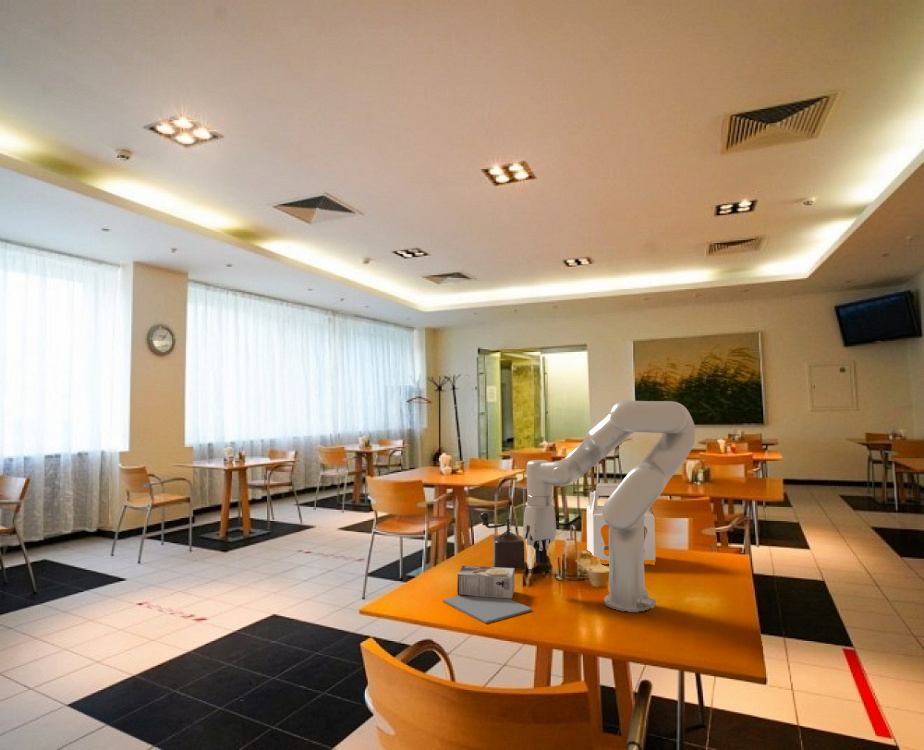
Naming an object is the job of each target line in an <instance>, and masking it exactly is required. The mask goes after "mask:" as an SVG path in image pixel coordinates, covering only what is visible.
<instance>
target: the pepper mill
mask: <svg viewBox="0 0 924 750" xmlns="http://www.w3.org/2000/svg"><path fill="white" fill-rule="evenodd" d="M478 518H479V519H480V521H481V522H482V526H484V527H486V528H488V529H497V528H502V527H505V526H506V530H505V531H504V532H503V533H501V534H499V535H493V538H492V539H493V545H492V546H493V555H492V556H493V559H492V564H494V565H493V567H500V568H522V569H521V570H525V542H524V540H523V539H524V538H522V535H517V534H515V533H513V532H511V530H510V524H511V522H510V520H511V519H510V517H507V518H505V519H506V522H505V523H501V524H495V525H490V523H491V522H490V521H489V518H490V514H489V512H487V511H482V512H481V513H479V515H478Z"/></svg>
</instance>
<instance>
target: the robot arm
mask: <svg viewBox="0 0 924 750" xmlns="http://www.w3.org/2000/svg"><path fill="white" fill-rule="evenodd" d="M633 433H650V434H651V433H652V434H653V433H654V434H656V433H657V434H661V437H660V438H659V440H658V441H657V442H656V443H655V445H654V446H653V447H652V449H650V451H649V452H648V454H646V456H645V457H644V459H643V460H642V461H640V462H639V464H637V465H635V466H633V468H632V469H631V470H629V471H628V473H627V474H626V476H625V477H624V478H623V479H622V481H621V482H619V483H620V484H619V486H618V487H617V488H616V489H615V491H614V492H613V493H612V494H611V496H609V497H608V498H607V499H606V501H605V502H604V504H603V506H604V507H603V517H604V520H605V522H606V523H607V525H606V526H608V546H609V565H608V568H609V569H608V571H609V572H608V579H609V584H608V586H609V594H608V595H606V596H604V597H603V598H604V599H603V603H604V605H605V606H607V607H608V608H610V609H613V610H615V609H616V611H619V610H620V611H619V612H624V611H628V612H627V613H640V612H639V611H643V612H645V611H644V610H647V609H649V608H650V609H654V608H655V605H656V603H657V600H656V598H653V597H650V596H649V591H648V590H646V586H645V581H646V580H645V565H644V514H645V513H646V511H647V510H648V509H649V508H650V507H651V508H652V506H653V504H654V503H655V502H656V500H657V499H658V498H659V497H660V496H661V494H662V493H663V492H664V490H665V488H666V486H667V484H668V483H669V481H670V480H671V478H672V477H673V476H674V475H675V474H676V472H677V471H678V469H679V468H680V467H681V466H682V465H683V463H684V462H685V460H686V459H687V457H688V456H689V455H690V453H691V451H692V449H693V447H694V444H695V440H696V426H695V422H694V420H693V417H692V416H691V413H690V411H689V410H688V409H687V408H686V406H684V405H683V404H682V403H679V402H677V401H669V400H668V401H667V400H663V401H662V400H659V401H658V400H657V401H655V400H653V401H652V400H649V401H648V400H647V401H646V400H627V399H625V400H620V401H618V402H617V403H615V404H614V405H613V406H612V408H611V409H610V412H609V413H608V414H607V415H606V416H604V418H602V419H601V420H600V421H598V423H596V424H595V425H594V426H593V427H592V428H591V429H590V430H588V431H587V432H586V435H585V437H584V439H583V441H582V442H581V443H580V444H579V445H578V446H577V447H575V449H574V450H573V451H571V452H570V453H569V454H568V455H567V456H565V457H564V458H563V459H559V460H555V461H549V460H546V459H532V460H529V461H528V462H527V463H526V498H527V500H526V506H525V508H524V512H523V526H522V527H523V529H522V534H523V535H522V536H523V539H525V540H526V545H528V546H531V547H532V548H533V550H534V551H535V562H536V563H538V564H540V565H545V564H547V563H548V553H547V551H548V550H549V545H550V544H551V543H552V542H554V541H555V537H556V535H557V522H556V513H555V508H554V505H553V500H554V496H553V486H555V487H566V486H569V485H571V484H572V483H574V482H576V481H578V480H579V479H580V478H581V477H583V476H584V475H585V474H586V473H587V472H589V471H590V470H591V469H592V468H593V467H594V466H595V465H597V464H598V463H599V462H601V460H603V459H605V458H606V457H607V456H608V455H609V454H610V453H611V452H613V451H614V450H615V449H616V448H617V447H618V446H620V444H622V443H623V442H624V441H625V440H627V439H628V438H629V437H630V436H631V435H633ZM650 609H649V610H650ZM647 611H648V610H647Z"/></svg>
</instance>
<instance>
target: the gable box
mask: <svg viewBox="0 0 924 750" xmlns="http://www.w3.org/2000/svg"><path fill="white" fill-rule="evenodd" d="M620 483H621V482H616V483H615V482H598V483H596V486H595V490H593V491H589V498H588V504H587V507H586V551H587V550H588V551H590V552H591V553H592V555H593V556H594V557H597V558H599V559H601V560H607V561H609V556H608V555H606V554H605V553H604V550H609V545H605V540H604V538H603V535H602V528H603V527H604V526H608V525H607V523H606V522H605V520H604V517H603V507H604V505H598V498H599V497H602V496H603V497H605V496H606V497H607V496H609V497H610V496H611V494H612V493H613V492H614V491H615V489H616V488H617V487H618V486H619V484H620ZM655 522H656V521H655V514H654V512H653V510H652V506H651V507H650V508H649V509H648V510H647V511H646V513H645V514H644V560H655V561H656V533H655V532H656V527H655V525H656V524H655Z"/></svg>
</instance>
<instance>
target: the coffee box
mask: <svg viewBox="0 0 924 750" xmlns="http://www.w3.org/2000/svg"><path fill="white" fill-rule="evenodd" d="M515 582H516V581H515V569H514V568H500V567H494V566H478V565H477V566H476V565H462V566H461V568H460V570H459V572H458V573H457V588H456V589H457V596H461V595H462V596H478V597H495V598H508V599H512V598H513V597H514V596H513V595H514V591H515V587H516V586H515Z"/></svg>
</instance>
